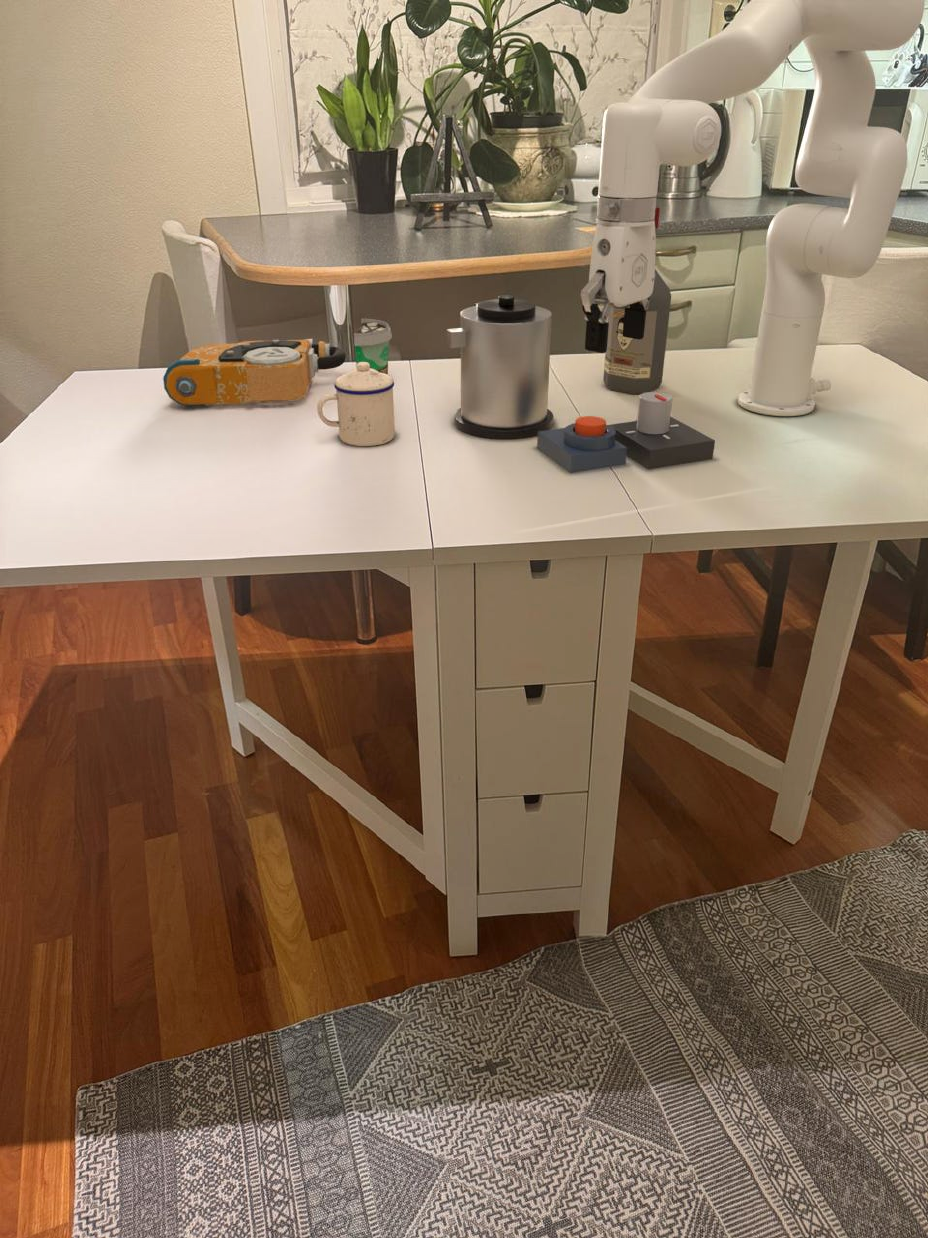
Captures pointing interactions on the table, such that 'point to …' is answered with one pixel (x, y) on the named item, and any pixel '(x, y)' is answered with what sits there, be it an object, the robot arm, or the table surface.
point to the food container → (373, 344)
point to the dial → (654, 413)
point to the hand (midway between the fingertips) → (614, 344)
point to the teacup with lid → (363, 407)
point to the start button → (590, 426)
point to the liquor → (639, 344)
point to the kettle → (503, 369)
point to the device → (249, 372)
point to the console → (664, 445)
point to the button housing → (581, 449)
